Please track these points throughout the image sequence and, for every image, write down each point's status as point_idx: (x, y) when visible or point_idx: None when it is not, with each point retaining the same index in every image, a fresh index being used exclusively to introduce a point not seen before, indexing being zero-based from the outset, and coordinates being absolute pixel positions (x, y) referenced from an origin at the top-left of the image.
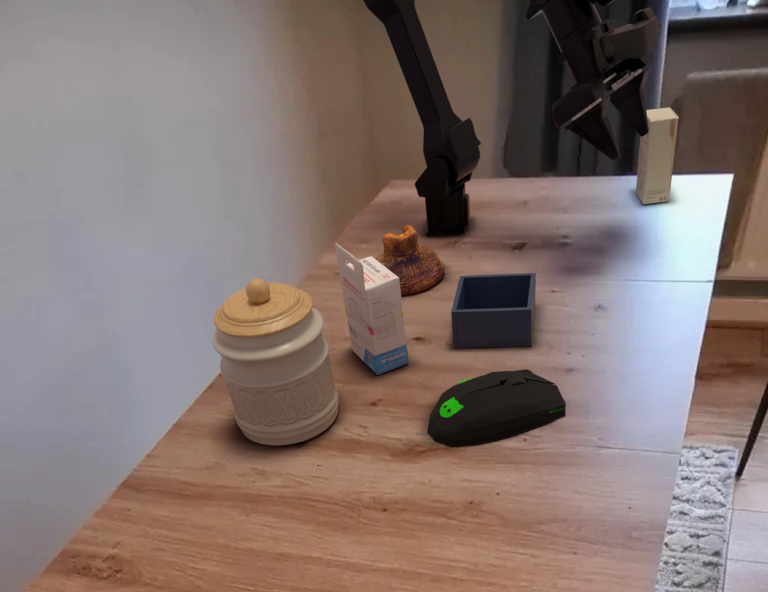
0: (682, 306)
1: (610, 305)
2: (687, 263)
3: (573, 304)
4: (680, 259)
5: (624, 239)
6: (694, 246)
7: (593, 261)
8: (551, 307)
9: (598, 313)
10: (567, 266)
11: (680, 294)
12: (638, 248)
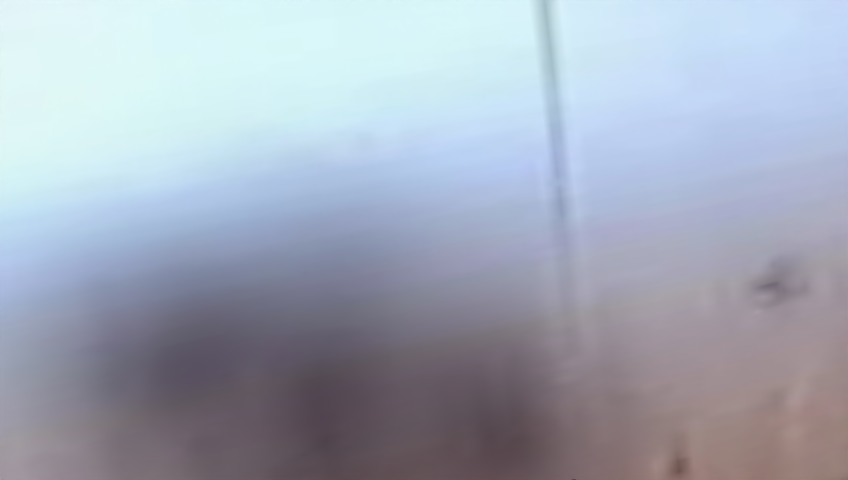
0: (733, 6)
1: (755, 249)
2: (398, 38)
3: (763, 375)
4: (367, 68)
5: (215, 309)
6: (247, 33)
7: (422, 383)
8: (793, 444)
9: (816, 277)
10: (475, 468)
11: (646, 26)
12: (290, 240)
